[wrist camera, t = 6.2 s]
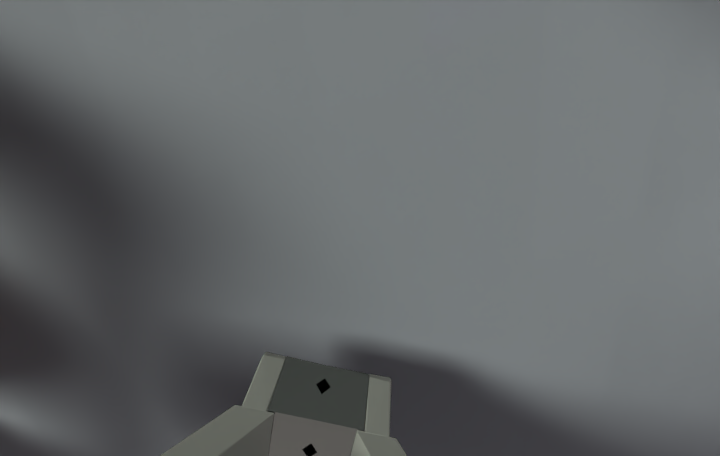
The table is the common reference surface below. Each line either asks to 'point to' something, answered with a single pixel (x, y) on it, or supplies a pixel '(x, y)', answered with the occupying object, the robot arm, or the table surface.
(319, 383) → the robot arm
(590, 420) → the table surface
